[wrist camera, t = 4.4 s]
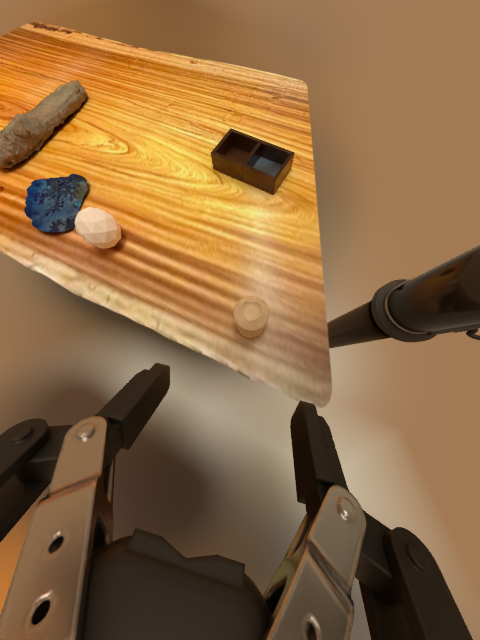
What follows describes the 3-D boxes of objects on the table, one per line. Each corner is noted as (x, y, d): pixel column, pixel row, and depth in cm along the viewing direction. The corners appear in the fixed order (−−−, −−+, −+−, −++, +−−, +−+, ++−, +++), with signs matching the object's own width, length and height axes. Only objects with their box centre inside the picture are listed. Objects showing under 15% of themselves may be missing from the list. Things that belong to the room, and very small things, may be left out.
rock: (93, 179, 46) (86, 171, 44) (73, 236, 42) (64, 231, 40) (42, 178, 47) (34, 171, 45) (18, 233, 43) (8, 228, 41)
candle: (231, 322, 35) (224, 307, 26) (252, 306, 36) (253, 285, 26) (248, 344, 34) (249, 336, 25) (270, 326, 35) (278, 312, 25)
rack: (291, 169, 44) (294, 152, 41) (273, 194, 42) (275, 179, 39) (232, 145, 47) (230, 128, 43) (213, 169, 45) (210, 152, 42)
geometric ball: (118, 241, 44) (102, 203, 39) (133, 247, 41) (117, 206, 36) (83, 249, 40) (60, 207, 35) (96, 256, 36) (72, 210, 31)
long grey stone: (101, 103, 55) (79, 97, 57) (86, 76, 50) (62, 71, 52) (13, 176, 47) (-10, 166, 49) (-16, 152, 42) (-40, 142, 44)
